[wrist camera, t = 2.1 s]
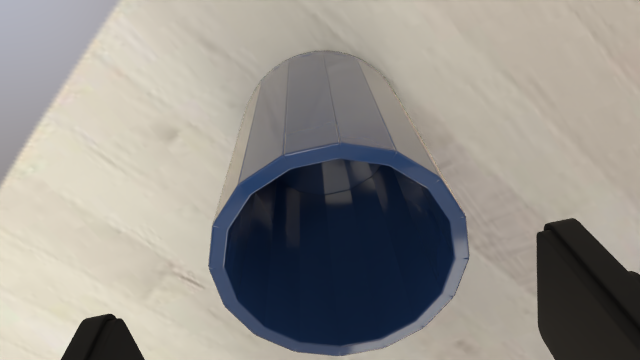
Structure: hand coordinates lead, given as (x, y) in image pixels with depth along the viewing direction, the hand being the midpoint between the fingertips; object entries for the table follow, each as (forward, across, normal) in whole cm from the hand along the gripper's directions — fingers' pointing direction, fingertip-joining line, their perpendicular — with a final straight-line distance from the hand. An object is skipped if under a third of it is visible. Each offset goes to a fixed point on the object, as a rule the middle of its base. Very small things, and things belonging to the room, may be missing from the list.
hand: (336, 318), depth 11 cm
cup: (+10, 0, 0) cm, 11 cm away
